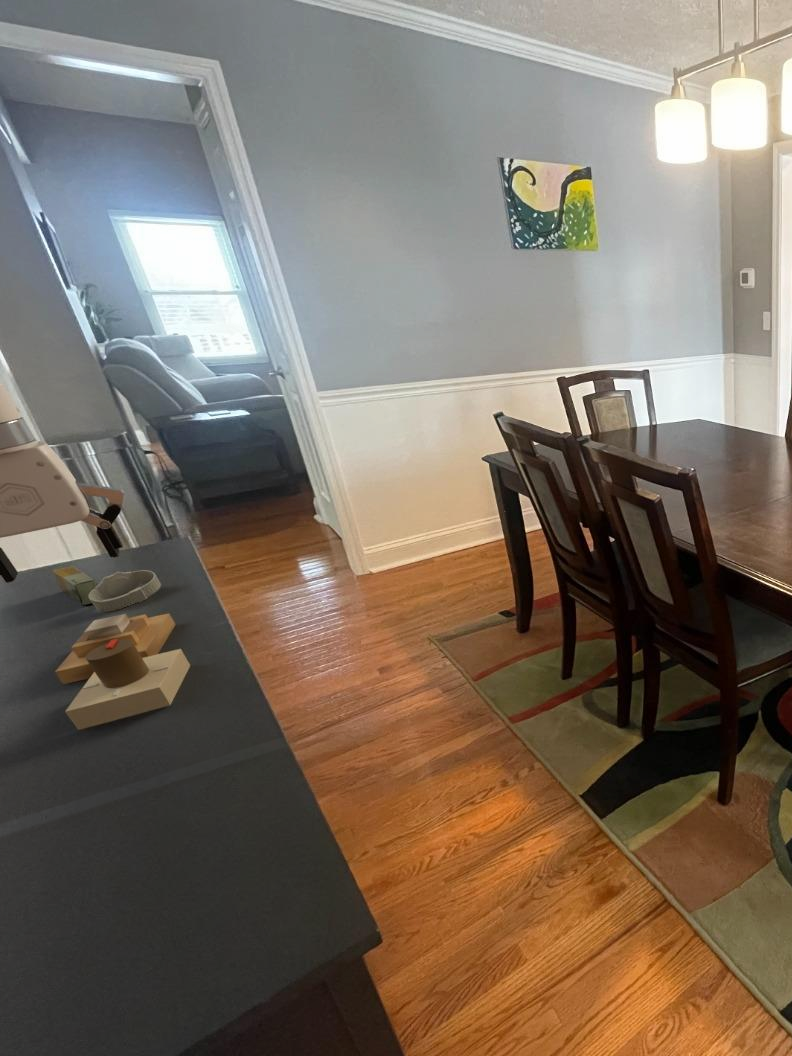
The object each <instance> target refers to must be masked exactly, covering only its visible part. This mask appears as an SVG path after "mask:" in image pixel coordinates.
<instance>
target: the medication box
mask: <svg viewBox="0 0 792 1056" xmlns="http://www.w3.org/2000/svg"><path fill="white" fill-rule="evenodd" d="M52 572H53V575H54V577H55V580H56V582H57V584H58V587H59V589H60V590H61V591H62V592H63V593H65V594H66V595H68V596H69V597H70V598H72V599H73V600H74V601H76V602H77V603H79V605H81V606H82V607H85V606H89V605H93V603H92V602H91V600H90V599H89V597H88V596H89V593H90V592H91V591H92V590H93V589H96V588H95V587H96V586H97V585H98V584H97V582H96V580H95V579H93V578H92V577H90V576H89V575H87V574H86V573H84V572H82V571H81V570H80V569H78V568H76V567H75V566H73V565H70V566H66V567H59V568H55V569H53V570H52Z"/></svg>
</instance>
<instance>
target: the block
mask: <svg viewBox="0 0 792 1056" xmlns="http://www.w3.org/2000/svg"><path fill="white" fill-rule="evenodd" d="M128 619H129V621H130V622H131V623H130V625H129V626H128V627H127V629H126V630H125V631H124V633H120V634H116V635H111V636H107V637H102V638H98V639H94V640H89V639H88V637H87V636H86V634H85V633H84V632H83V633H82V634H81V636H80V637H79V638H78V639H77V640H76V641H75V643H74V644H73V645H72V646H71V650H72V651H71V652H70V653H69V654H68V656H67V657H66V658H65V659H64V660H63V661H62V663H60V665H59V666H58V667H57V669H55V671H54V673H55V675H56V676H57V678H58V679H59V681H60V682H61V683H62V684H63V685H67V684H70V683H75V682H78V681H79V682H80V681H84V680H89V679H90V677H91V676H92V674H93V673H94V670H93V669H92V667H91V666H90V664H89V663H88V661H87V660H86V658H85V657H86V655H87V654H88V653H89V652H90V651H92V650H93V649H95V648H97V647H99V646H102V645H104V644H107V643H109V642H110V641H111V640H114V639H117V640H118V641H119V640H130V641H132V642H133V644H134V646H135V647H136V649H137V651H138V652H139V654H140V655H141V657H142V658H144V657H149V656H153V655H157V654H160V651H161V650H162V648H163V646H164V644H165V643H166V641H167V640H168V638H169V637H170V635H171V634H172V632H173V630H174V628H175V626H176V625H177V624H176V622H175V621H174V618H173V617H172V616H171V614H170V612H169V613H163V614H159V615H155V616H151V617H148V616H147V614H146V613H145V614H141V615H136V616H130V617H128Z"/></svg>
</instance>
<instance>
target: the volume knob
mask: <svg viewBox="0 0 792 1056" xmlns="http://www.w3.org/2000/svg"><path fill="white" fill-rule="evenodd" d="M85 658H86V660H87V661H88V663H89V664H90V666H91V667H92V669H93V670H94V672H95V673H96V675H97V676H98V678H99V679H100V681H101V682H102V684H103V685H104V686H105V687H107V688H115V687H120V686H124V685H127V684H130V683H132V682H135V681H137V680H139V679H140V678H142V677H143V676H145V675H146V674H147V673H148V671H149V669H148V667H147V665H146V664H145V662H144V660H143V659H142V657H141V655H140V654H139V652H138V651H137V649H136V647H135V646H134V644H133V642H132V641H130V640H119V641H118V640H117V639H114V640H111V641H110V642H109V643H107V644H104V645H102V646H99V647H97V648H95V649H93V650H92V651H90V652H89V653H88V654H87V655H86V657H85Z"/></svg>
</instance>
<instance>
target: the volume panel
mask: <svg viewBox="0 0 792 1056" xmlns="http://www.w3.org/2000/svg"><path fill="white" fill-rule="evenodd" d="M142 659H143V660H144V662H145V664H146V665H147V667H148V669H149V671H148V673H147V674H146V675H145V676H143V677H142V678H140V679H139V680H137V681H135V682H132V683H130V684H127V685H124V686H120V687H115V688H107V687H105V686H104V685H103V684H102V682H101V681H100V679H99V678H98V676H97V675H96V673H95V672H94V673H93V674H92V676H91V677H90V678H88V679H87V681H86V682H85V684H84V685H83V686H82V688H81V689H80V691H79V692H78V693H77V695H76V696H75V697H74V699H73V700H72V701H71V703H70V704H69V706H68V707H67V708H66V709H65V712H64V713H65V714H66V715H67V716H68V718H69V719H70V721H71V722H72V723H73V725H74V726H75V728H76V730H78V731H80V730H83V729H87V728H91V727H94V726H98V725H101V724H106V723H109V722H113V721H116V720H120V719H124V718H128V717H132V716H137V715H140V714H143V713H147V712H151V711H154V710H157V709H161V708H162V709H163V708H165V707H169V706H171V705H172V704H173V701H174V699H175V697H176V695H177V693H178V691H179V690H180V687H181V686H182V684H183V681H184V679H185V677H186V675H187V673H188V671H189V669H190V668H191V664H190V662H189V661H188V659H187V657H186V656H185V653H184V652H183V650H182V649H181V648H179V649H173V650H169V651H166V652H161V653H158V654H157V655H153V656H149V657H144V658H142Z"/></svg>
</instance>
